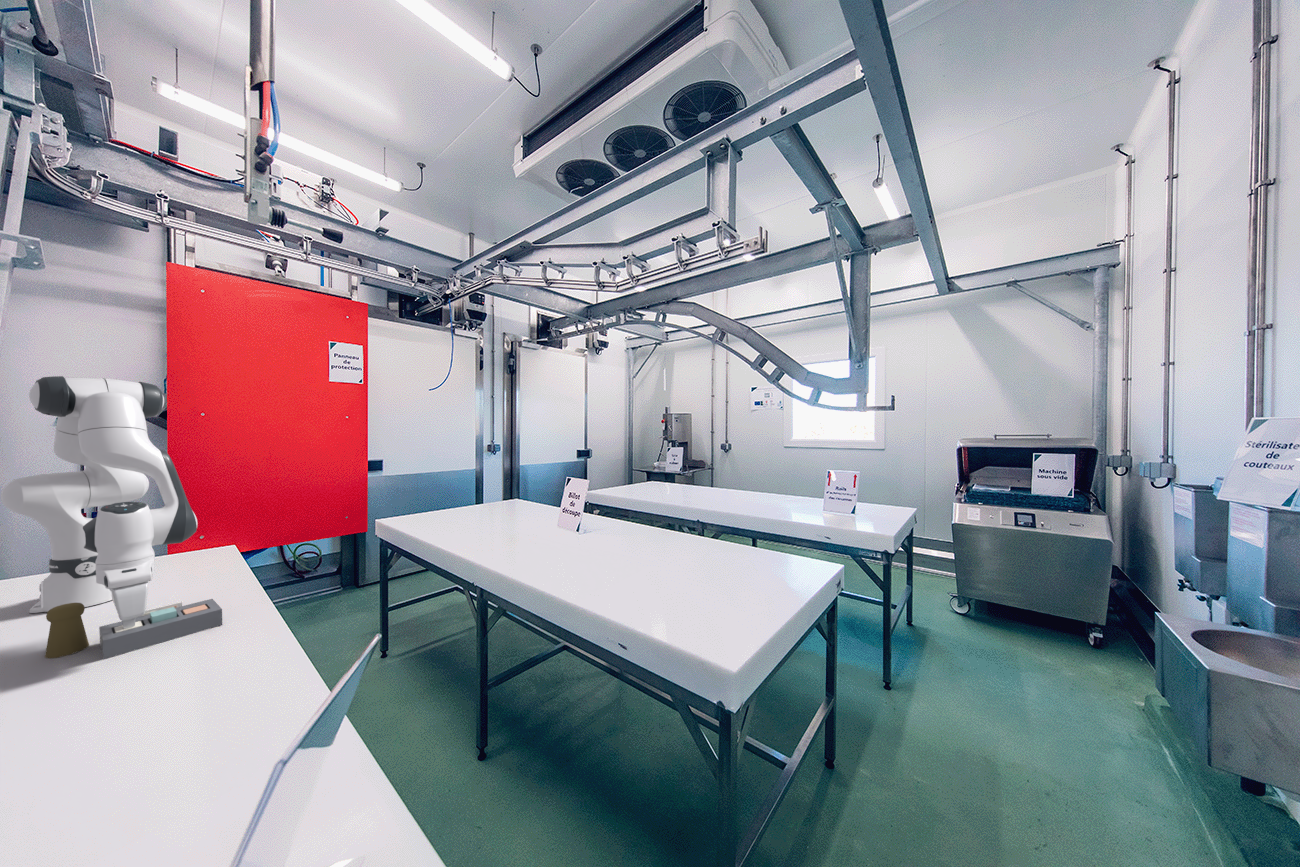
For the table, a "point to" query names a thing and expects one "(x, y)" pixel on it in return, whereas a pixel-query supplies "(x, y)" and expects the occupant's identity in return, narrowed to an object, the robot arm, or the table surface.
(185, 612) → the terracotta key
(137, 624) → the cream key
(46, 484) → the robot arm
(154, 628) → the keypad
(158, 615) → the teal key
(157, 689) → the table surface
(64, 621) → the cork
